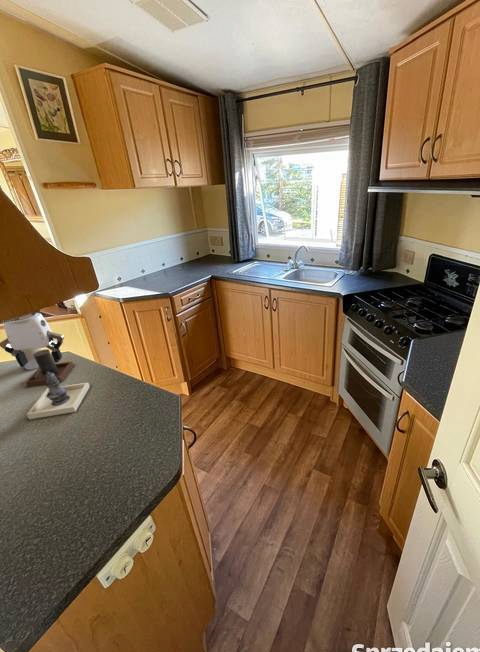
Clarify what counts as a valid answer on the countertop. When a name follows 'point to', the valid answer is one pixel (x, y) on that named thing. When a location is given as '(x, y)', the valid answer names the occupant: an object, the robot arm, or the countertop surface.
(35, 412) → the light tray
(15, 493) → the countertop surface
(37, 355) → the dark gray cylinder
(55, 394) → the marbled chess pawn
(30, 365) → the coffee cup
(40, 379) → the dark tray
